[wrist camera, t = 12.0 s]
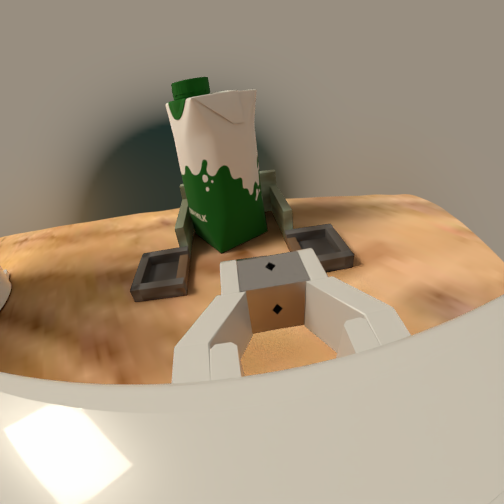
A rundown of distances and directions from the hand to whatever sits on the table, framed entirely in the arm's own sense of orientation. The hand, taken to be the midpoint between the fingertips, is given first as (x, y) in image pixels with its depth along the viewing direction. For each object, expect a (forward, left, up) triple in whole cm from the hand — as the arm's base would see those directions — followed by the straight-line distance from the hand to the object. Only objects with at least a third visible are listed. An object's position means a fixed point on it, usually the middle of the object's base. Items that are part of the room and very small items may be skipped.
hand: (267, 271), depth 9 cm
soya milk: (-2, +25, -12) cm, 28 cm away
